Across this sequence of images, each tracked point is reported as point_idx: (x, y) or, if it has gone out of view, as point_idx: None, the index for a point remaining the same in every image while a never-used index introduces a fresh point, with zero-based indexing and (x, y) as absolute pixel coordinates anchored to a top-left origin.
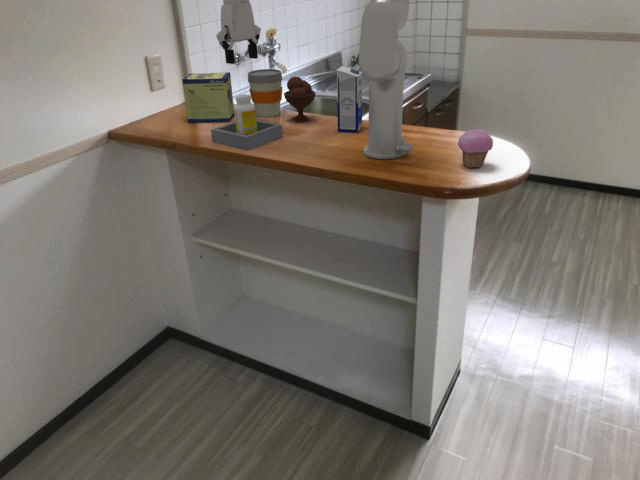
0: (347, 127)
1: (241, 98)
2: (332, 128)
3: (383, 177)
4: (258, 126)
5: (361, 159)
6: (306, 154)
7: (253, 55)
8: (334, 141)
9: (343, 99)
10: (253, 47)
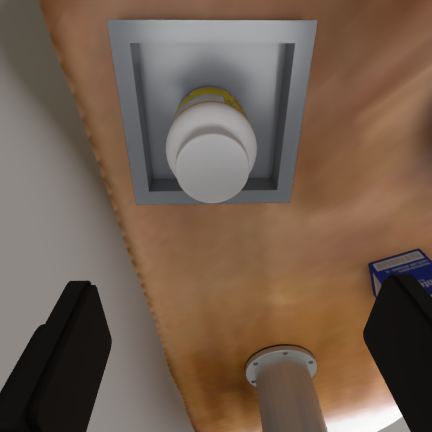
0: (376, 288)
1: (182, 187)
2: (394, 239)
3: (188, 398)
4: (282, 109)
5: (233, 358)
6: (203, 294)
7: (379, 339)
8: (300, 290)
9: None
10: (422, 425)
